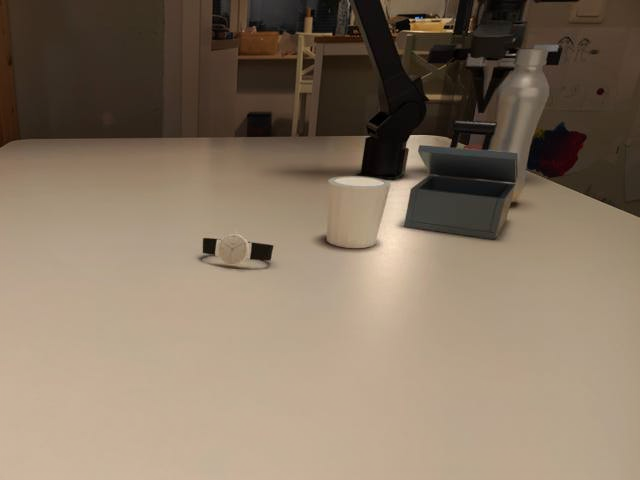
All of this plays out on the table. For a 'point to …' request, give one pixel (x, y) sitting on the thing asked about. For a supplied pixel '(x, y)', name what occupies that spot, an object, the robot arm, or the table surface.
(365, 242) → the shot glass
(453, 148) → the box lid
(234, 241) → the watch
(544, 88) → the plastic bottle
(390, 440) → the table surface
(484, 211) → the grey box
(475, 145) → the button
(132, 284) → the table surface
